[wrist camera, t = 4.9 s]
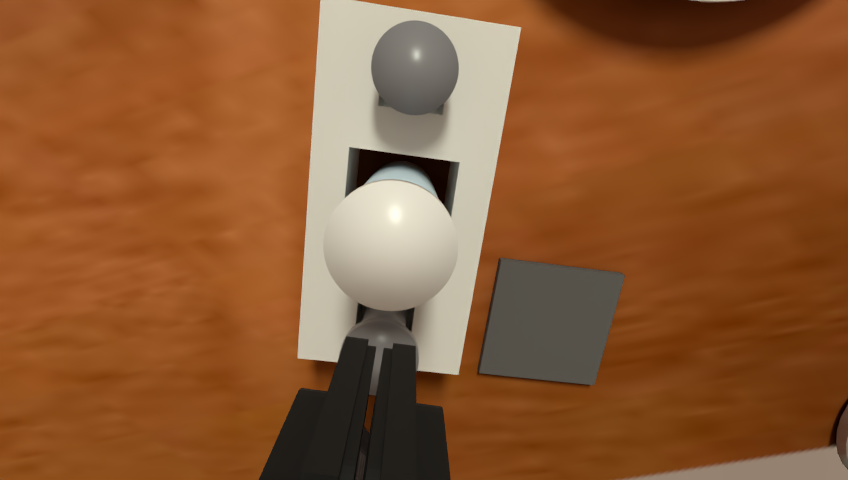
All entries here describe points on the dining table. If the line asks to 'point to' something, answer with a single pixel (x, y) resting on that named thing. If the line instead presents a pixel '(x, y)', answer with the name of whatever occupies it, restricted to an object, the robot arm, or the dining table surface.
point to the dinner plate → (716, 0)
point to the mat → (549, 321)
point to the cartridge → (391, 240)
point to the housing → (409, 135)
